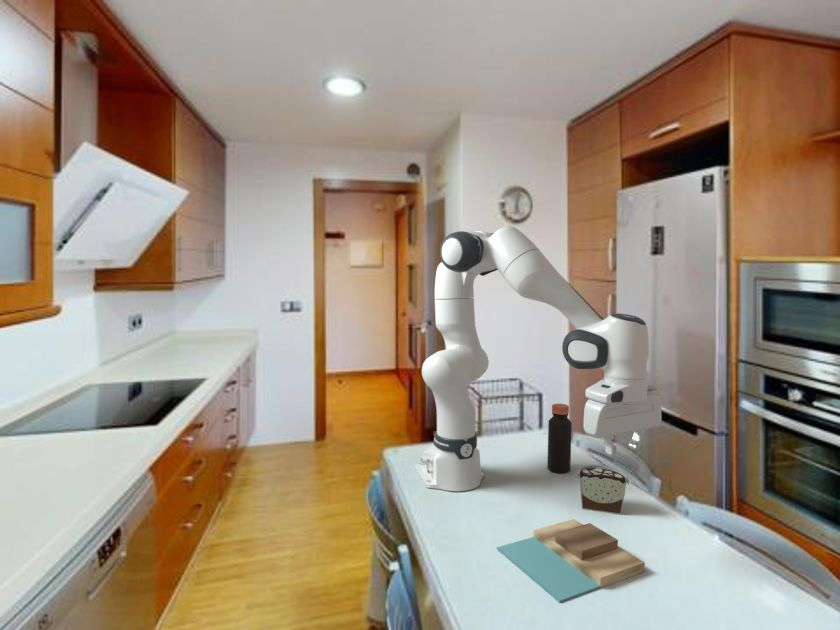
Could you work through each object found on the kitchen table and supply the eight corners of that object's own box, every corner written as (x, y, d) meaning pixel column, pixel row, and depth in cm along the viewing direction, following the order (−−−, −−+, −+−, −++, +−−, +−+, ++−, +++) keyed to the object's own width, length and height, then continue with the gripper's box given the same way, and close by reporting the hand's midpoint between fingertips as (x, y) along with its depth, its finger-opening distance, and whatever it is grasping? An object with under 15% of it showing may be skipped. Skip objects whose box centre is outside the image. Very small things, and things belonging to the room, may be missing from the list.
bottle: (573, 468, 156) (574, 404, 155) (566, 475, 151) (568, 409, 149) (551, 463, 160) (553, 401, 158) (544, 470, 154) (545, 406, 153)
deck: (533, 538, 115) (533, 530, 115) (573, 527, 120) (574, 519, 120) (600, 587, 97) (600, 577, 97) (644, 571, 102) (644, 562, 102)
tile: (554, 541, 110) (555, 532, 110) (589, 531, 114) (589, 523, 114) (581, 560, 103) (582, 551, 103) (617, 548, 107) (617, 539, 107)
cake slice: (626, 505, 132) (627, 467, 131) (627, 515, 126) (629, 476, 125) (576, 498, 136) (577, 461, 135) (576, 508, 130) (577, 470, 129)
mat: (496, 549, 111) (496, 547, 111) (533, 538, 115) (533, 537, 115) (559, 602, 93) (559, 600, 93) (600, 587, 97) (600, 585, 97)
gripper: (646, 381, 118) (644, 439, 119) (579, 390, 109) (577, 453, 110) (670, 387, 112) (667, 448, 113) (601, 397, 103) (599, 463, 104)
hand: (622, 450), depth 111 cm, fingers open, 6 cm apart
